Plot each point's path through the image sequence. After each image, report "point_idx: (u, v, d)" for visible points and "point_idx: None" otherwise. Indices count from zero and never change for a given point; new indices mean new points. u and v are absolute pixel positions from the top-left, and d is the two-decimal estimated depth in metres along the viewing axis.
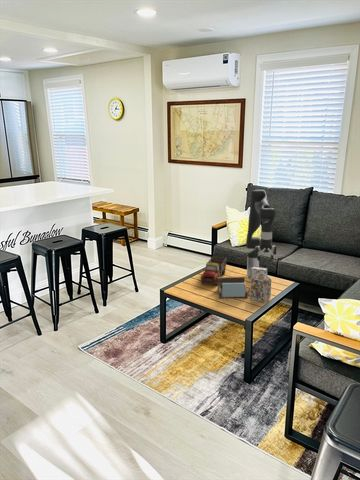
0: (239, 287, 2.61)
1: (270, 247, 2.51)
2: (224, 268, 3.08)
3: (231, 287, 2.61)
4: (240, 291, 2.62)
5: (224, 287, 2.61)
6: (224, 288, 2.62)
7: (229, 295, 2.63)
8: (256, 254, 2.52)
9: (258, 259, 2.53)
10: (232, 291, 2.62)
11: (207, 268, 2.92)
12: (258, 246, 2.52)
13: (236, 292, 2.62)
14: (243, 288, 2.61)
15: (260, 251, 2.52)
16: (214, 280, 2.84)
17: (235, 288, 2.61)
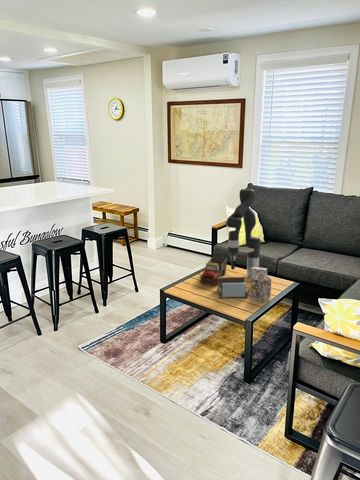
0: (239, 287, 2.61)
1: None
2: (224, 268, 3.08)
3: (231, 287, 2.61)
4: (240, 291, 2.62)
5: (224, 287, 2.61)
6: (224, 288, 2.62)
7: (229, 295, 2.63)
8: None
9: (234, 267, 2.65)
10: (232, 291, 2.62)
11: (207, 267, 2.92)
12: (234, 258, 2.59)
13: (236, 292, 2.62)
14: (243, 288, 2.61)
15: None
16: (213, 280, 2.84)
17: (235, 288, 2.61)
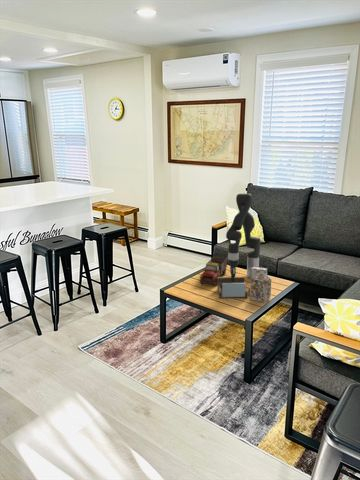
0: (239, 287, 2.61)
1: None
2: (225, 268, 3.08)
3: (231, 287, 2.61)
4: (240, 291, 2.62)
5: (224, 287, 2.61)
6: (224, 288, 2.62)
7: (229, 295, 2.63)
8: None
9: (233, 280, 2.66)
10: (232, 291, 2.62)
11: (207, 267, 2.92)
12: (233, 270, 2.59)
13: (236, 292, 2.62)
14: (243, 288, 2.61)
15: None
16: (213, 280, 2.84)
17: (235, 288, 2.61)
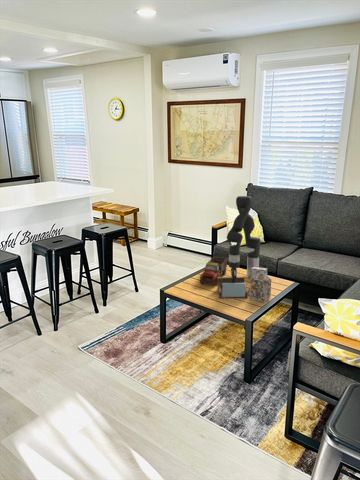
0: (239, 287, 2.61)
1: None
2: (225, 268, 3.08)
3: (231, 287, 2.61)
4: (240, 291, 2.62)
5: (224, 287, 2.61)
6: (224, 288, 2.61)
7: (229, 295, 2.63)
8: None
9: (234, 282, 2.62)
10: (232, 291, 2.62)
11: (207, 267, 2.92)
12: (234, 272, 2.56)
13: (236, 292, 2.62)
14: (243, 288, 2.61)
15: None
16: (213, 280, 2.84)
17: (235, 288, 2.61)
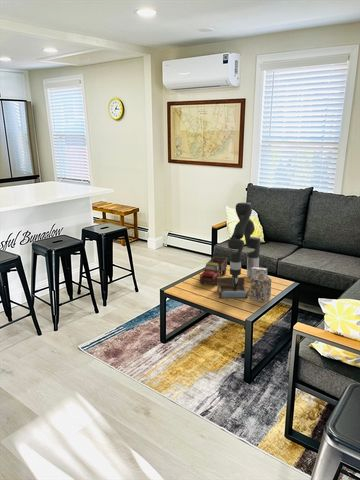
0: (240, 294, 2.58)
1: None
2: (225, 268, 3.08)
3: (232, 294, 2.58)
4: (240, 295, 2.60)
5: (225, 294, 2.58)
6: (225, 294, 2.58)
7: (229, 297, 2.63)
8: (237, 285, 2.53)
9: (235, 290, 2.56)
10: (232, 295, 2.60)
11: (206, 267, 2.92)
12: (236, 280, 2.50)
13: (236, 296, 2.61)
14: (244, 294, 2.58)
15: None
16: (213, 280, 2.84)
17: (236, 294, 2.58)
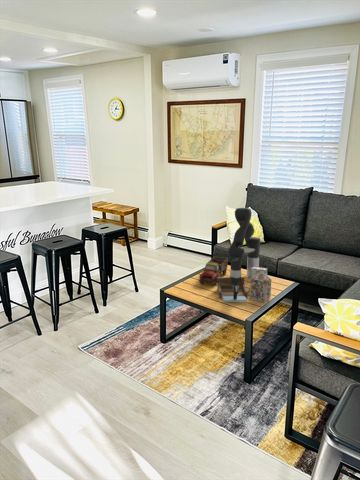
0: None
1: None
2: (225, 268, 3.08)
3: None
4: None
5: None
6: None
7: None
8: (237, 293, 2.53)
9: (236, 297, 2.55)
10: None
11: (206, 267, 2.93)
12: (236, 288, 2.49)
13: None
14: None
15: None
16: (212, 280, 2.84)
17: None
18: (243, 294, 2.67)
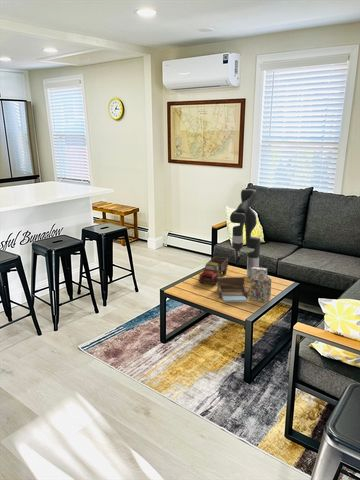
0: None
1: None
2: (225, 268, 3.08)
3: None
4: None
5: None
6: None
7: None
8: (239, 259, 2.59)
9: (238, 263, 2.62)
10: None
11: (206, 267, 2.93)
12: (238, 253, 2.55)
13: None
14: None
15: None
16: (212, 280, 2.85)
17: None
18: (243, 294, 2.67)
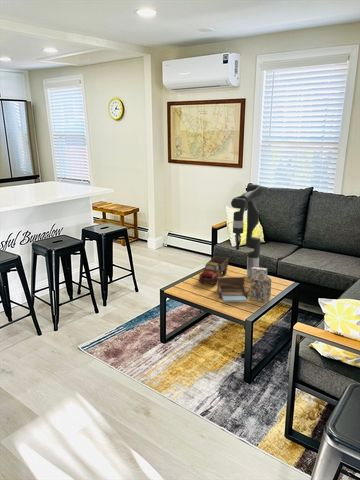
0: None
1: None
2: (225, 268, 3.08)
3: None
4: None
5: None
6: None
7: None
8: None
9: (238, 248, 2.69)
10: None
11: (206, 267, 2.93)
12: (238, 238, 2.62)
13: None
14: None
15: None
16: (212, 280, 2.85)
17: None
18: (243, 294, 2.67)
